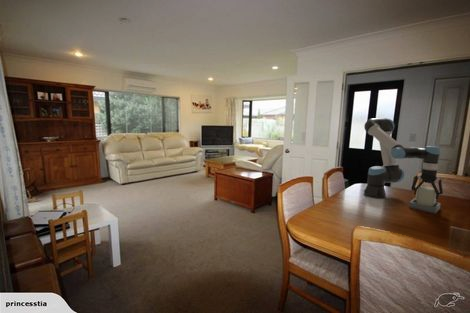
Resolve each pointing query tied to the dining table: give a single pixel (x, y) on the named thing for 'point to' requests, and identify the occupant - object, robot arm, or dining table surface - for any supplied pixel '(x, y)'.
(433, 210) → the tray
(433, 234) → the dining table surface
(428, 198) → the can
